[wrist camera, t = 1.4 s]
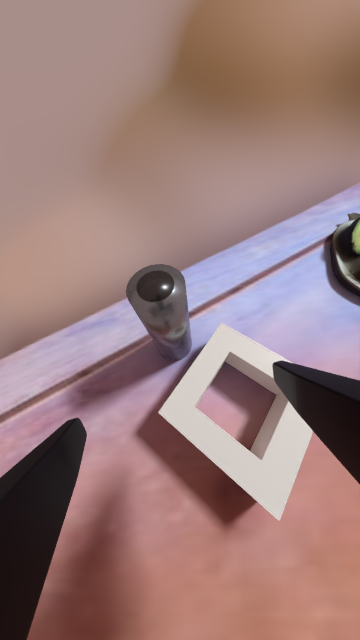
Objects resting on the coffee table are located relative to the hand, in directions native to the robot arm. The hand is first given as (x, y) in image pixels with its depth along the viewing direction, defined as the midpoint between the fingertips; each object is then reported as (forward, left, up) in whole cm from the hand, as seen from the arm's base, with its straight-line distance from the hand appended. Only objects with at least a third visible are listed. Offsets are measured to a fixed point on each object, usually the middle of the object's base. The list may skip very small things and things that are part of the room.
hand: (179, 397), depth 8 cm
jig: (+4, -3, -13) cm, 14 cm away
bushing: (+5, +6, -13) cm, 16 cm away
